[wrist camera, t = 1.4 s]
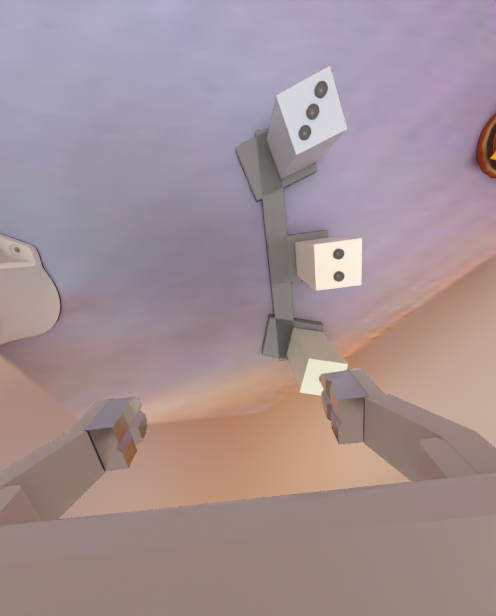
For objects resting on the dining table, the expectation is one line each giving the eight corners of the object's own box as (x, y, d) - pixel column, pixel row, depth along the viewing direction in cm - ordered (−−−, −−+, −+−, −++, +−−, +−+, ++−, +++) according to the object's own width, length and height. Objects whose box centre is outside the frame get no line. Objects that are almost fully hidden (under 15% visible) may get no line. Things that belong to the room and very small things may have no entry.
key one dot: (286, 354, 39) (300, 393, 29) (293, 327, 38) (309, 359, 28) (315, 358, 40) (337, 399, 30) (322, 331, 38) (349, 365, 28)
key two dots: (297, 275, 35) (316, 291, 25) (294, 242, 34) (314, 244, 24) (329, 271, 35) (362, 285, 25) (329, 237, 34) (363, 238, 24)
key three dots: (281, 179, 31) (297, 153, 21) (266, 140, 30) (276, 93, 20) (315, 161, 31) (348, 127, 21) (302, 121, 29) (331, 63, 19)
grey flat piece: (263, 363, 42) (264, 368, 40) (233, 129, 31) (232, 124, 30) (328, 355, 41) (331, 360, 40) (321, 115, 31) (324, 109, 29)
